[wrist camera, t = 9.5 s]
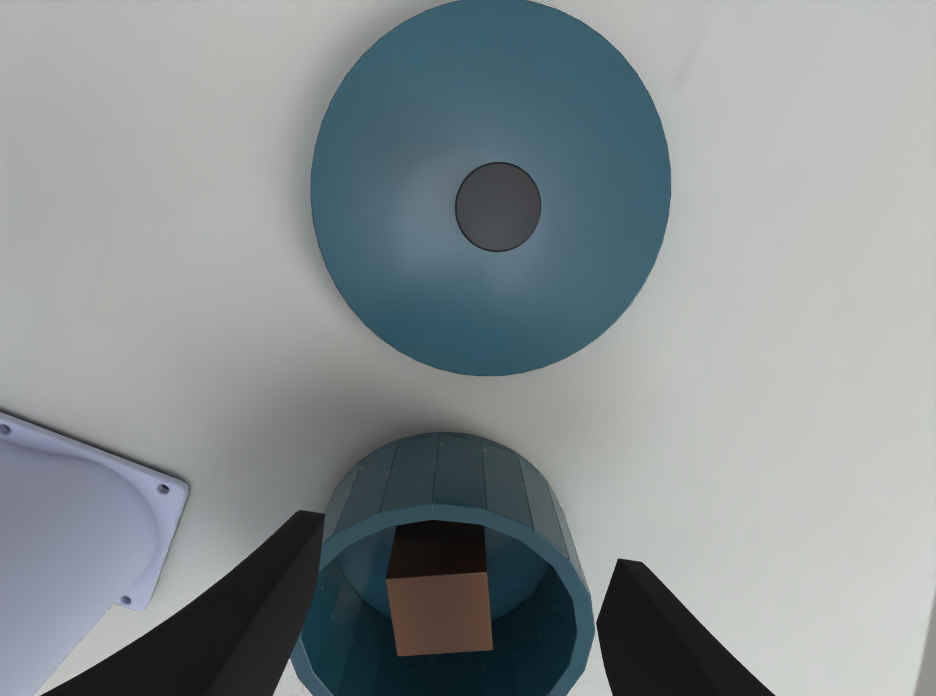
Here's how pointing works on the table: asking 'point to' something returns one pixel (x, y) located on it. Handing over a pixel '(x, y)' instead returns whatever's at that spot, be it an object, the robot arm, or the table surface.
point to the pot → (508, 561)
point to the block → (439, 588)
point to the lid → (490, 186)
